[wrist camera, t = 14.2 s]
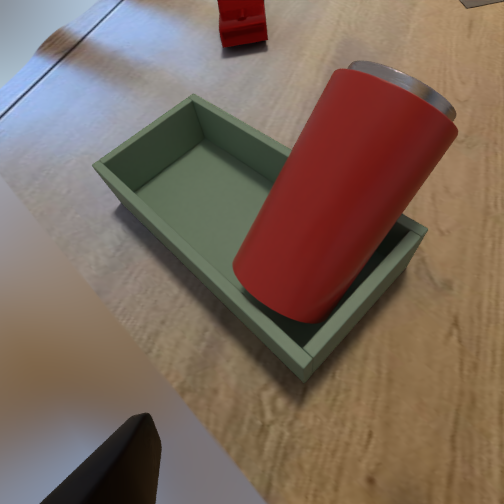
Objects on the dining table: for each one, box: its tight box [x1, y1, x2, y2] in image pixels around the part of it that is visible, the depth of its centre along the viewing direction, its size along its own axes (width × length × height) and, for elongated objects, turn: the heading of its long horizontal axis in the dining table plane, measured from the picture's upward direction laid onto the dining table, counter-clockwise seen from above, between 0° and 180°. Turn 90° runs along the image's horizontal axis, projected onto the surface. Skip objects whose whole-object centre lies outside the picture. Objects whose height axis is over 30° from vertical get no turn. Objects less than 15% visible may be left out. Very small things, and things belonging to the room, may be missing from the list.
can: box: [232, 61, 458, 324], centre depth 17 cm, size 6×6×12 cm
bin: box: [92, 94, 428, 383], centre depth 23 cm, size 10×21×5 cm, turn 44°
